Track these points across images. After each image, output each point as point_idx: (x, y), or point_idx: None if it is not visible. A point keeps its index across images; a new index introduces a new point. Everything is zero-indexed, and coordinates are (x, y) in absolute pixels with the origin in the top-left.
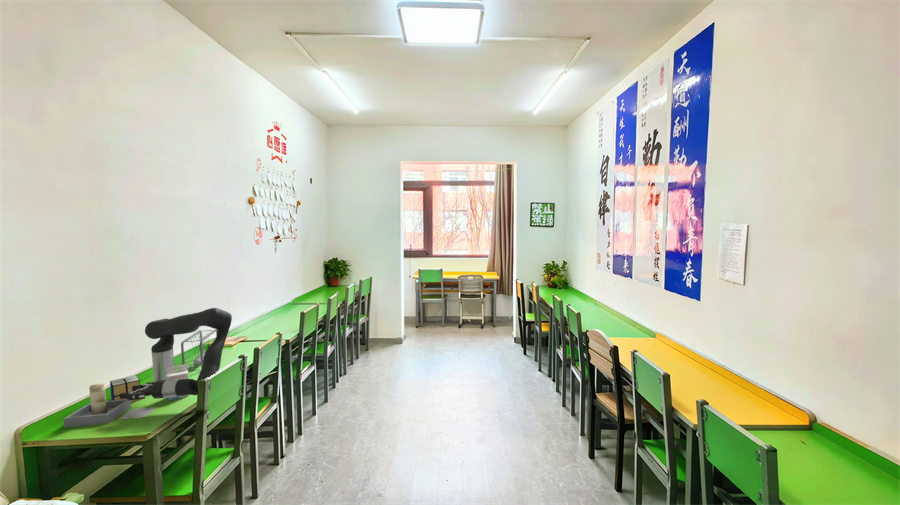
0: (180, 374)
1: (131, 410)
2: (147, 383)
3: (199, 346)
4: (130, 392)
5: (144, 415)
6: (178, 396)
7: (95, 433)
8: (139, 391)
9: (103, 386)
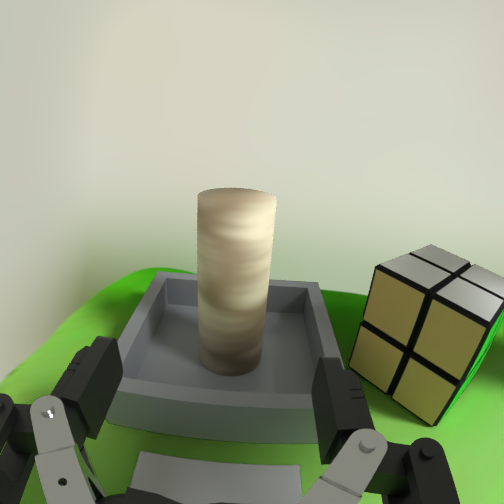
0: None
1: (277, 470)
2: (410, 465)
3: None
4: (44, 403)
5: None
6: None
7: (24, 398)
8: (454, 386)
9: (231, 217)
